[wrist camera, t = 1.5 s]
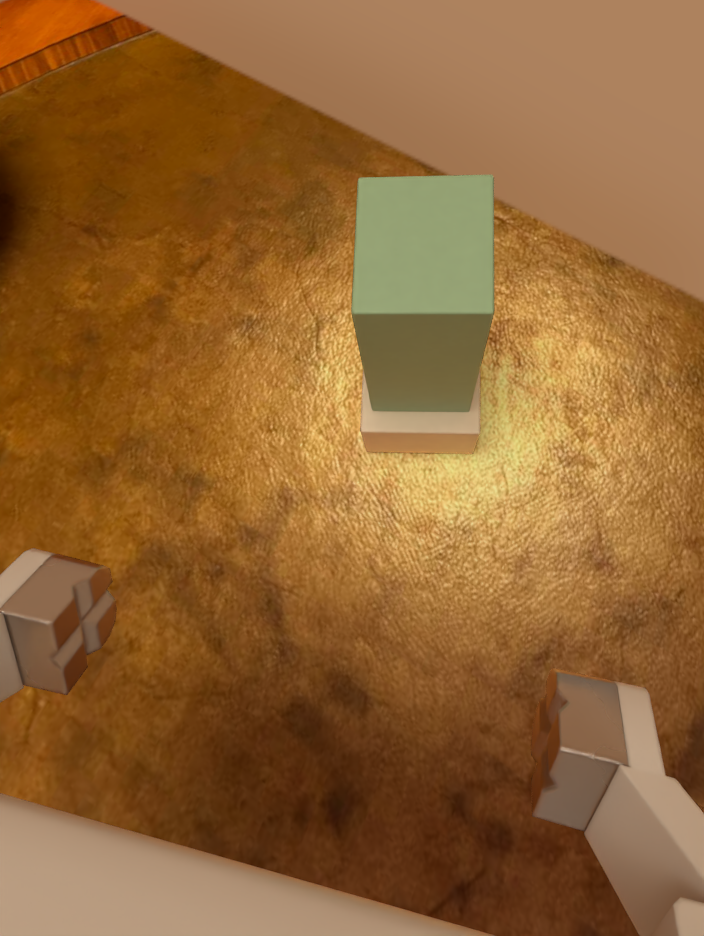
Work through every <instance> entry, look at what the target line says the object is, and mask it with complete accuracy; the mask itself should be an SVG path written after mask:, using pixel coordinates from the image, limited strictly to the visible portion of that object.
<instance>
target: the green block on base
mask: <svg viewBox="0 0 704 936" xmlns="http://www.w3.org/2000/svg"><path fill="white" fill-rule="evenodd" d="M351 313H352V317H353V322H354V327H355V332H356V337H357V341H358V346H359V351H360V356H361V360H362V365H363V381H362V404H361V427H360V431H361V434H362V438H363V441H364V445H365V448H366V451H367V452H401V453H452V454H472V453H473V452H474V450H475V447H476V444H477V441H478V438H479V435H480V367H481V363H482V359H483V355H484V351H485V347H486V343H487V339H488V335H489V331H490V327H491V323H492V319H493V315H494V178H493V175H458V176H457V175H454V176H411V177H368V178H359V180H358V187H357V208H356V228H355V249H354V269H353V289H352V310H351Z"/></svg>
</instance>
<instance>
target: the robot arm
mask: <svg viewBox="0 0 704 936" xmlns="http://www.w3.org/2000/svg"><path fill="white" fill-rule="evenodd" d="M112 582H113V581H112V576H111V571H110V568H108V567H106V566H103V565H99V564H95V563H91V562H88V561H84V560H80V559H76V558H72V557H68V556H64V555H60V554H55V553H51V552H47V551H43V550H39V549H35V548H33V549H30V550H27V551H25V552H24V553H22V554H21V555H20V556H19V557H18V558H17V559H16V560H15V561H14V562H13V563H12V564H11V565H10V566H9V567H8V568H7V569H6V570H5V571H4V572H3V573H2V574H1V575H0V702H2V701H3V700H5V699H6V698H8V697H10V696H11V695H13V694H14V693H16V692H18V691H19V690H21V689H23V687H24V686H23V685H25V686H30V687H34V688H38V689H43V690H47V691H51V692H56V693H60V694H65V695H67V694H68V693H69V692H70V690H71V689H72V688H73V686H74V685H75V684H76V682H77V681H78V679H79V678H80V677H81V675H82V674H83V673H84V671H85V670H86V669H87V667H88V664H87V655H89V654H91V653H93V652H95V651H97V650H99V649H101V648H102V646H103V645H104V643H105V642H106V641H107V639H108V638H109V636H110V634H111V631H112V628H113V626H114V623H115V619H116V610H117V609H116V601H115V599H114V597H113V596H112V595H111V594H110V593H109V591H108V590H107V589H108V587H109V586H110V585H111V583H112ZM531 755H532V757H533V758H534V760H535V761H536V763H537V765H536V768H535V771H534V773H533V776H532V778H531V789H532V816H533V817H536V818H540V819H543V820H547V821H550V822H554V823H557V824H561V825H564V826H568V827H571V828H574V829H578V830H581V831H585V833H584V835H585V837H586V839H587V840H588V842H589V844H590V846H591V848H592V850H593V851H594V853H595V855H596V857H597V859H598V861H599V863H600V864H601V866H602V868H603V870H604V872H605V874H606V875H607V877H608V879H609V881H610V883H611V885H612V886H613V888H614V890H615V892H616V894H617V896H618V897H619V899H620V901H621V903H622V905H623V907H624V909H625V910H626V912H627V914H628V916H629V918H630V920H631V921H632V923H633V925H634V927H635V929H636V931H637V932H638V934H639V936H704V813H703V812H702V810H701V809H700V808H699V807H698V805H697V804H696V803H695V802H694V801H693V799H692V798H691V797H690V796H689V794H688V793H687V792H686V791H685V790H684V788H683V787H682V786H681V785H680V783H679V782H678V781H677V780H676V779H675V778H672V777H668V776H666V775H665V770H664V765H663V760H662V755H661V750H660V745H659V740H658V735H657V730H656V725H655V720H654V715H653V710H652V706H651V701H650V696H649V693H648V691H647V690H646V688H644V687H639V686H635V685H630V684H625V683H621V682H616V681H611V680H608V679H603V678H599V677H594V676H589V675H585V674H580V673H576V672H571V671H566V670H562V669H557V668H553V669H552V670H551V671H550V673H549V676H548V678H547V681H546V696H545V697H543V698H542V699H540V700H539V703H538V706H537V709H536V712H535V716H534V721H533V727H532V737H531ZM0 936H495V935H492V934H488V933H485V932H481V931H478V930H474V929H471V928H467V927H464V926H460V925H457V924H454V923H450V922H447V921H443V920H440V919H436V918H433V917H429V916H426V915H422V914H419V913H415V912H412V911H408V910H405V909H401V908H398V907H394V906H391V905H388V904H384V903H381V902H377V901H374V900H370V899H367V898H363V897H360V896H356V895H353V894H349V893H346V892H342V891H339V890H335V889H332V888H328V887H325V886H322V885H318V884H315V883H311V882H308V881H304V880H301V879H297V878H294V877H290V876H287V875H283V874H280V873H276V872H273V871H269V870H266V869H262V868H259V867H256V866H252V865H249V864H245V863H242V862H238V861H235V860H231V859H228V858H224V857H221V856H217V855H214V854H210V853H207V852H203V851H200V850H196V849H193V848H189V847H186V846H182V845H179V844H175V843H172V842H168V841H165V840H161V839H158V838H154V837H151V836H147V835H144V834H140V833H137V832H133V831H130V830H126V829H123V828H119V827H116V826H112V825H109V824H106V823H102V822H99V821H95V820H92V819H88V818H85V817H81V816H78V815H74V814H71V813H67V812H64V811H60V810H57V809H53V808H50V807H46V806H43V805H40V804H36V803H33V802H29V801H26V800H22V799H19V798H15V797H12V796H8V795H5V794H1V793H0Z"/></svg>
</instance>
